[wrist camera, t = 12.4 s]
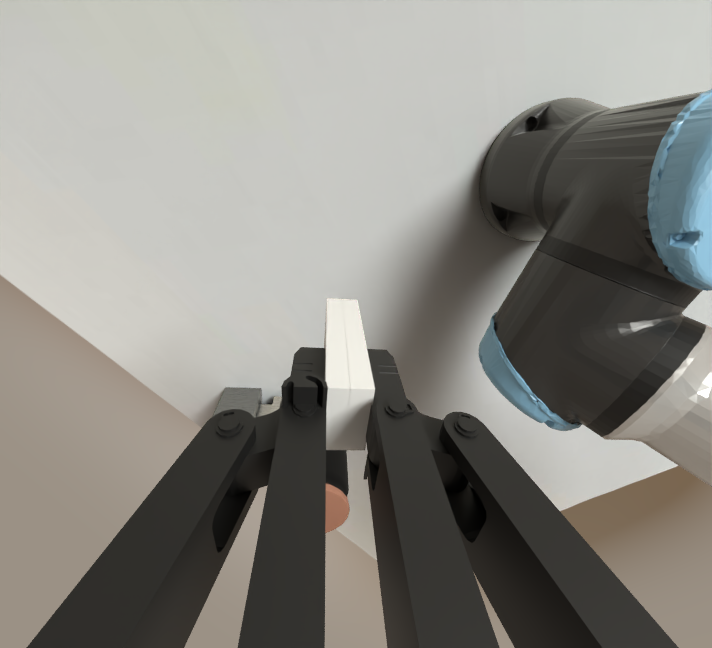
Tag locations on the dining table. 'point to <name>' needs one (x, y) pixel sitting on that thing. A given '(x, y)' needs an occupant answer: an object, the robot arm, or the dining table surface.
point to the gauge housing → (240, 400)
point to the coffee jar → (336, 489)
